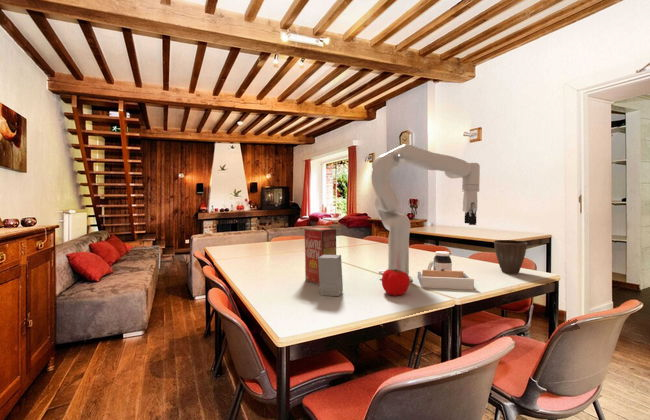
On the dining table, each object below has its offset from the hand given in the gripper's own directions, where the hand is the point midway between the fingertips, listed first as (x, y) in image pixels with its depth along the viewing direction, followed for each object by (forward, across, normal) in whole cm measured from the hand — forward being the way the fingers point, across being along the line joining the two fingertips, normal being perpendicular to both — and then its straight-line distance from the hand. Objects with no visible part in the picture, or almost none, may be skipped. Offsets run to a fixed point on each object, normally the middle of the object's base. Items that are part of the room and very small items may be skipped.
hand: (470, 224), depth 156 cm
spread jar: (+26, -2, -14) cm, 30 cm away
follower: (+26, +11, -14) cm, 31 cm away
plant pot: (+26, -15, +22) cm, 37 cm away
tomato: (+27, +34, -35) cm, 56 cm away
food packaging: (+27, +22, -69) cm, 77 cm away
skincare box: (+27, +40, -61) cm, 78 cm away
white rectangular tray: (+26, +14, -14) cm, 33 cm away
